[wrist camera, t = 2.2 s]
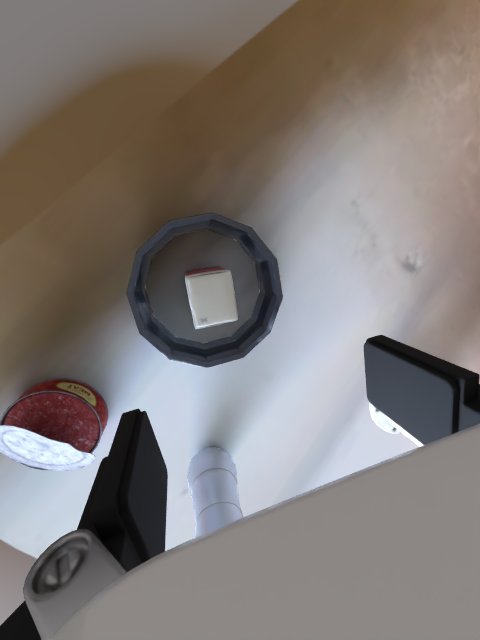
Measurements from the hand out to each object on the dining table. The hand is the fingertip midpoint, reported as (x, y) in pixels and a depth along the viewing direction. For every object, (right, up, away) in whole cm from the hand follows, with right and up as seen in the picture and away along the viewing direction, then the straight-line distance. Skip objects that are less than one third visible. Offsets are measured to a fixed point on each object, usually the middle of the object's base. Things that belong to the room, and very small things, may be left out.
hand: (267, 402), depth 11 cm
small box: (-5, +7, +21) cm, 23 cm away
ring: (-5, +7, +21) cm, 23 cm away
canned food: (-22, -8, +21) cm, 32 cm away
